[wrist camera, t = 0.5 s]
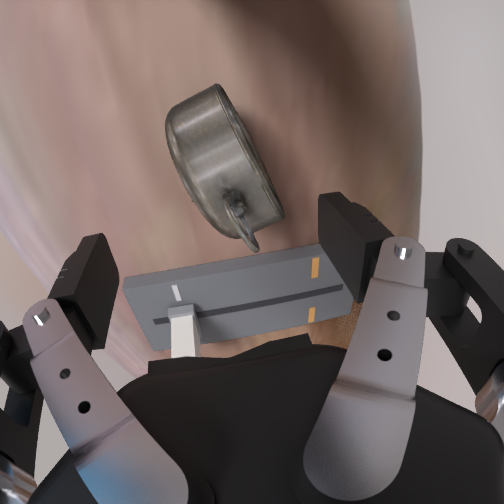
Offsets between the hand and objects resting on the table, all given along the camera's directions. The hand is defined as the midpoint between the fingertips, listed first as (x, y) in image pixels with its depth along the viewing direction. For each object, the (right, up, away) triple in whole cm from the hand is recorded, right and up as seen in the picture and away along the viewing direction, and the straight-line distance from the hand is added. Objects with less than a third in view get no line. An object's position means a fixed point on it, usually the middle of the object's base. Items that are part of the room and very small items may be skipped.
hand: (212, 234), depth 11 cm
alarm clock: (-2, +10, +16) cm, 19 cm away
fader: (-7, -9, +26) cm, 28 cm away
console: (+1, -6, +28) cm, 29 cm away
